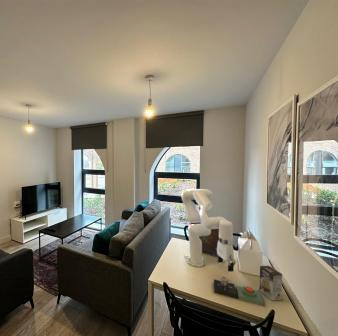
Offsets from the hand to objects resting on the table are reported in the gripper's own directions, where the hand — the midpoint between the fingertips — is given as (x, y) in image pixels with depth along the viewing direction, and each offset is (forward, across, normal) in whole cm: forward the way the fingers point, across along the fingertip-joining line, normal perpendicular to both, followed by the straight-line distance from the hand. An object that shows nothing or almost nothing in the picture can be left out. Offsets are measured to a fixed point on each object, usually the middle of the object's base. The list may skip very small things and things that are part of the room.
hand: (225, 266), depth 119 cm
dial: (+13, 0, 0) cm, 13 cm away
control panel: (+16, 0, 0) cm, 16 cm away
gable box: (+16, -23, +36) cm, 46 cm away
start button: (+12, +6, +11) cm, 18 cm away
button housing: (+16, +6, +11) cm, 20 cm away
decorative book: (+16, -48, +14) cm, 53 cm away
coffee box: (+16, +6, +25) cm, 30 cm away
